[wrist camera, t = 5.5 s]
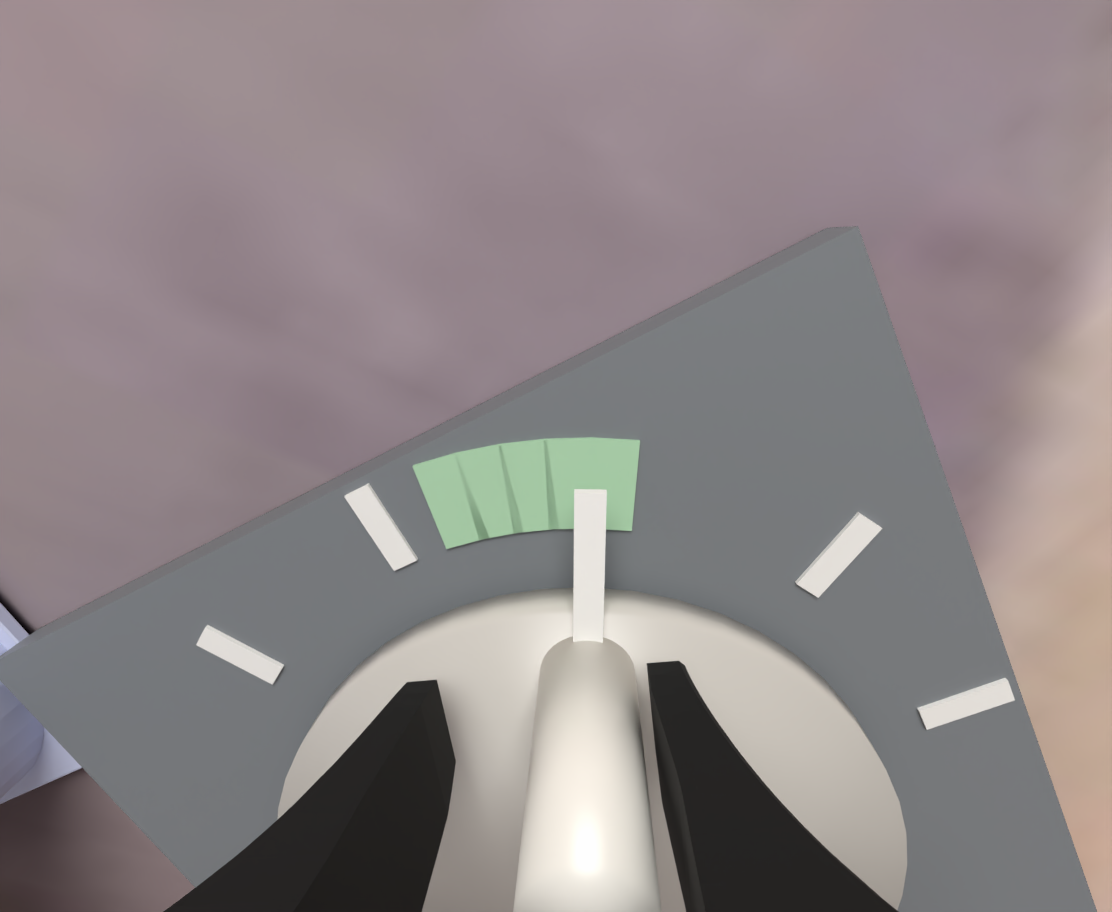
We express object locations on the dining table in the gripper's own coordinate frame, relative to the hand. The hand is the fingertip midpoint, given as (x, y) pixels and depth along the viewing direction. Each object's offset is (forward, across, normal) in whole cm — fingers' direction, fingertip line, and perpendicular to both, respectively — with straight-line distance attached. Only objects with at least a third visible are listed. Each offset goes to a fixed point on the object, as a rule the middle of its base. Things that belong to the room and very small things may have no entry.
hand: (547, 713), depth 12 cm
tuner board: (+4, 0, +6) cm, 7 cm away
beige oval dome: (+2, 0, +5) cm, 5 cm away
